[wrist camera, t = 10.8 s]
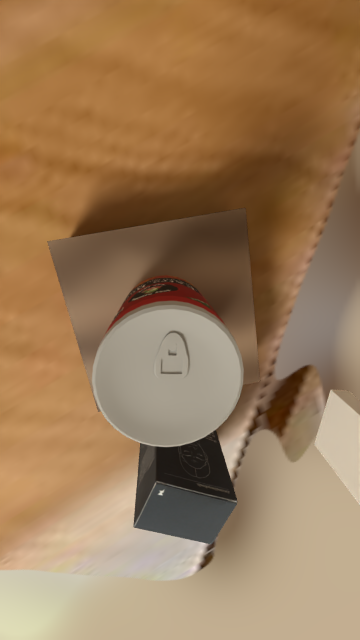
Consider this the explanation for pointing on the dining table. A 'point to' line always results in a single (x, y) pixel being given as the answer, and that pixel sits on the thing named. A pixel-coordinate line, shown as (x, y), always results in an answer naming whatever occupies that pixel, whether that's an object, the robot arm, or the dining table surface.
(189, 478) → the box
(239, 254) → the brown wooden block
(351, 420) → the robot arm
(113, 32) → the dining table surface
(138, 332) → the canned food
